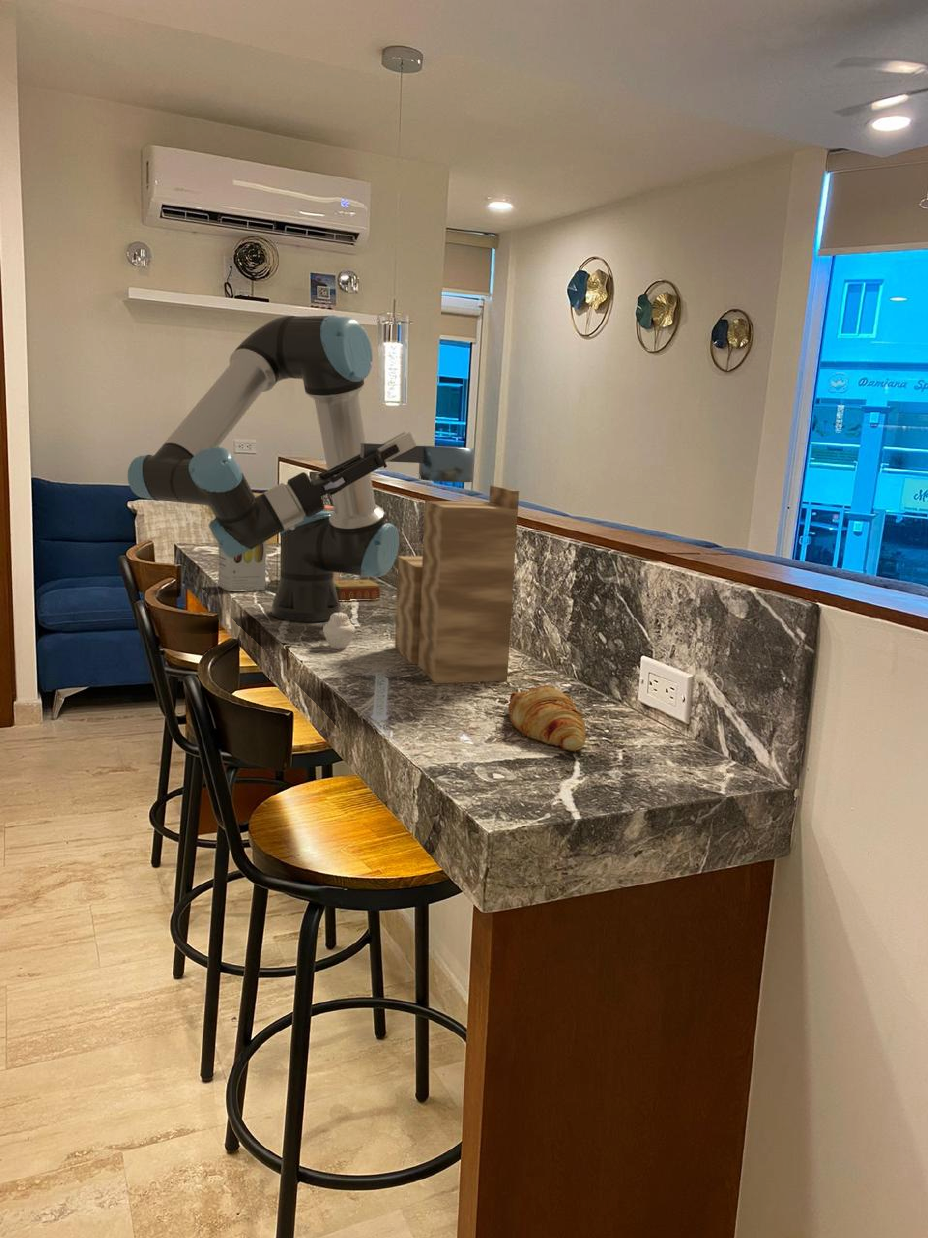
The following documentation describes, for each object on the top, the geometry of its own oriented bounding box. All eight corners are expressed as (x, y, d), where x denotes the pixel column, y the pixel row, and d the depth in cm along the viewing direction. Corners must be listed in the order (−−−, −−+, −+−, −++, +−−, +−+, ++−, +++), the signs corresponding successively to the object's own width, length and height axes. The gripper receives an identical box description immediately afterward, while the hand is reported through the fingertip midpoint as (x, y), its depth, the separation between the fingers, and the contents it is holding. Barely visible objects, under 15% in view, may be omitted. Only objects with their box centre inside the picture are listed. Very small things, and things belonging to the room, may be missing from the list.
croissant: (595, 778, 130) (623, 728, 130) (541, 752, 125) (570, 700, 125) (526, 727, 149) (550, 683, 149) (477, 703, 144) (502, 657, 144)
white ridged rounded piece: (321, 643, 184) (321, 608, 182) (352, 643, 185) (353, 608, 184) (324, 651, 178) (325, 615, 176) (356, 650, 179) (357, 615, 178)
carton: (379, 602, 230) (380, 584, 229) (315, 603, 224) (316, 586, 223) (370, 595, 238) (370, 578, 237) (307, 597, 232) (308, 580, 231)
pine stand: (395, 647, 184) (401, 477, 177) (463, 645, 188) (471, 479, 181) (430, 683, 160) (438, 488, 153) (507, 680, 164) (519, 491, 157)
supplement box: (229, 592, 230) (229, 524, 226) (217, 586, 237) (217, 520, 234) (266, 590, 235) (267, 523, 232) (253, 584, 242) (253, 519, 239)
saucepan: (355, 475, 173) (356, 442, 172) (463, 479, 179) (465, 447, 178) (366, 478, 163) (368, 444, 162) (479, 482, 170) (481, 449, 169)
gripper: (300, 514, 174) (408, 455, 178) (312, 524, 159) (431, 459, 163) (280, 478, 172) (390, 419, 176) (291, 484, 157) (411, 419, 161)
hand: (409, 438), depth 169 cm, fingers closed on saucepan, 3 cm apart
